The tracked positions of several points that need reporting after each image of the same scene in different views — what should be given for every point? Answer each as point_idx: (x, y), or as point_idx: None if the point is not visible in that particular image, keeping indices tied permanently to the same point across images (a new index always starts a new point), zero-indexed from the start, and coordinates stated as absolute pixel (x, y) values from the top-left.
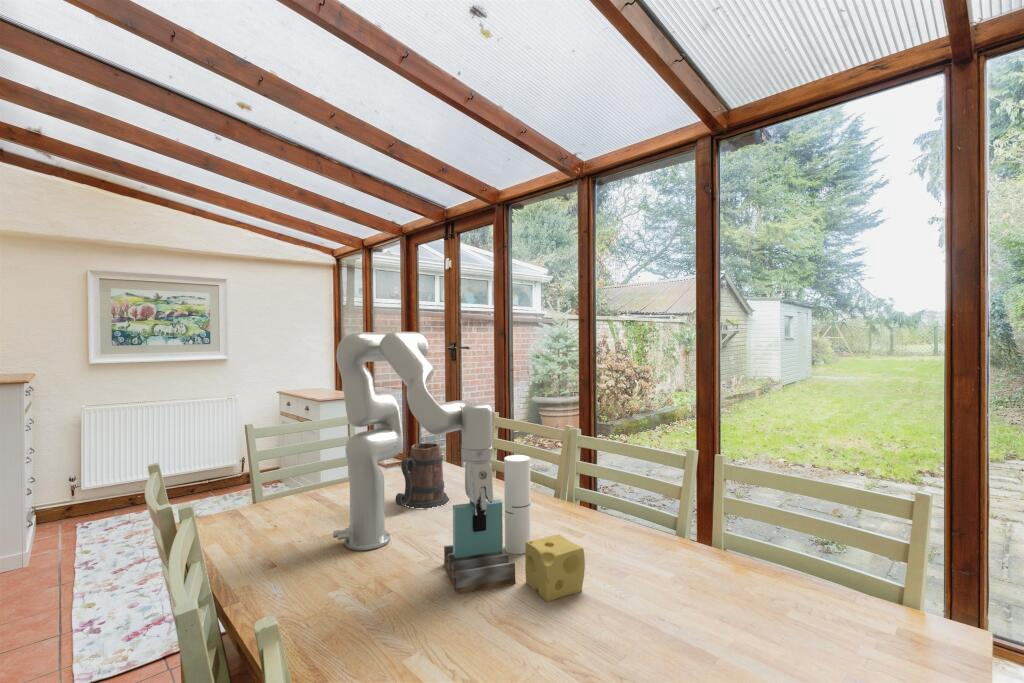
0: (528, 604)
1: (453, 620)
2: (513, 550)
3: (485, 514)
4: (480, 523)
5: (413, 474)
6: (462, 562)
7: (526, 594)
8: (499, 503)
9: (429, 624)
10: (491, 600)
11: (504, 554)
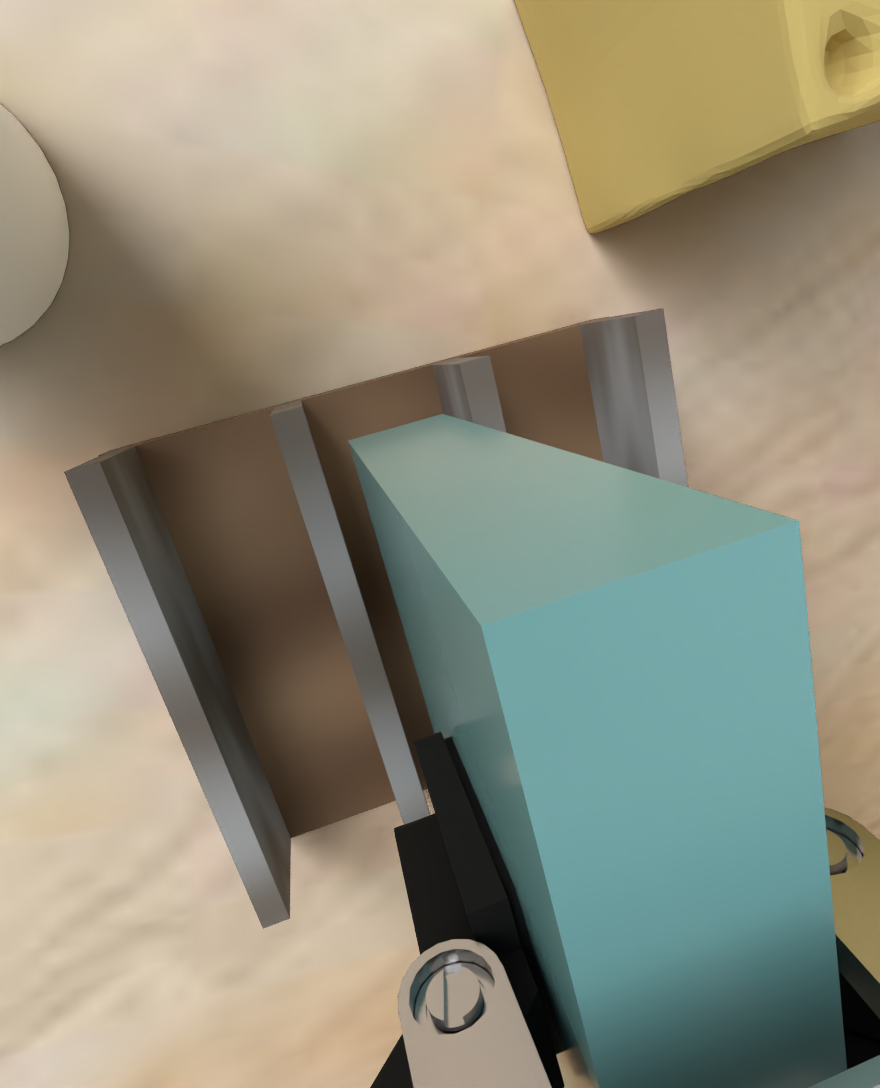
0: (842, 262)
1: (873, 672)
2: (51, 274)
3: (830, 817)
4: None
5: None
6: None
7: (736, 257)
8: (787, 607)
9: (873, 768)
10: (754, 490)
11: (480, 396)
